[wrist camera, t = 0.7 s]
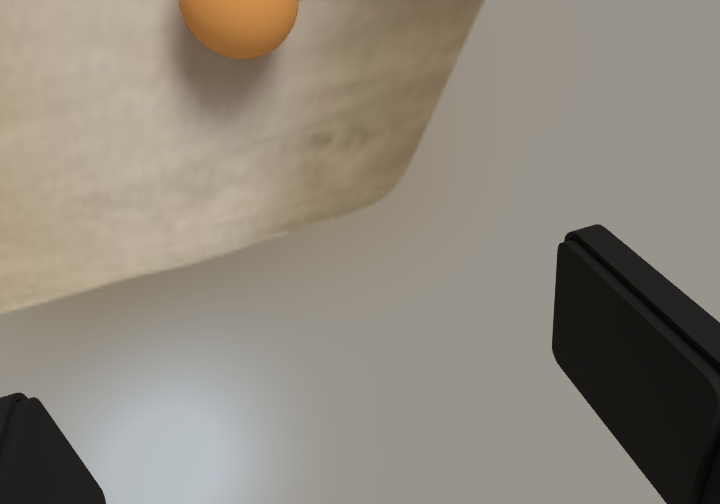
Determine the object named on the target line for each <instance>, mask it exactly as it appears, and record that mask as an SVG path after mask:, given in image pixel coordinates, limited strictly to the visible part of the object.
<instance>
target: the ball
mask: <svg viewBox="0 0 720 504" xmlns="http://www.w3.org/2000/svg"><path fill="white" fill-rule="evenodd" d="M179 4H180V8H181V12H182V14H183V17H184V19H185V21H186V23H187V25H188V27H189V28H190V30H191V31H192V33H193V34H194V35H195V36H196V37H197V39H198V40H199V41H201V42H202V43H203V44H204V45H205V46H207V47H208V48H210V49H211V50H212V51H214V52H216V53H218V54H221V55H223V56H226V57H230V58H235V59H251V58H256V57H260V56H263V55H265V54H267V53H269V52H271V51H272V50H274V49H275V48H277V47H278V46H279V45H280V44H281V43H282V42H283V41H284V40H285V39H286V37H287V36H288V35H289V33H290V31H291V29H292V28H293V25H294V23H295V20H296V16H297V12H298V4H299V0H179Z"/></svg>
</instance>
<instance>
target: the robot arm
mask: <svg viewBox="0 0 720 504" xmlns="http://www.w3.org/2000/svg"><path fill="white" fill-rule="evenodd" d="M552 350H553V354H554V357H555V359H556V361H557V363H558V364H559V366H560V367H561V369H562V370H563V371H564V372H565V374H566V375H567V376H568V378H569V379H570V380H571V381H572V383H573V384H574V385H575V387H576V388H577V389H578V390H579V392H580V393H581V394H582V395H583V397H584V398H585V399H586V400H587V402H588V403H589V404H590V406H591V407H592V408H593V410H594V411H595V412H596V413H597V415H598V416H599V417H600V418H601V420H602V421H603V422H604V424H605V425H606V426H607V427H608V429H609V430H610V431H611V432H612V434H613V435H614V437H615V438H616V439H617V440H618V442H619V443H620V444H621V445H622V447H623V448H624V449H625V451H626V452H627V453H628V454H629V456H630V457H631V458H632V459H633V461H634V462H635V463H636V465H637V466H638V467H639V469H640V470H641V471H642V472H643V474H644V475H645V476H646V478H647V479H648V480H649V481H650V483H651V484H652V485H653V486H654V488H655V489H656V490H657V492H658V493H659V494H660V495H661V497H662V498H663V499H664V501H665V502H666V503H667V504H720V323H719V322H718V321H717V320H716V319H715V318H713V317H712V316H711V315H710V314H708V313H707V312H706V311H705V310H704V309H703V308H701V307H700V306H699V305H698V304H696V303H695V302H694V301H693V300H691V299H690V298H689V297H688V296H687V295H686V294H684V293H683V292H682V291H681V290H680V289H678V288H677V287H676V286H674V285H673V284H672V283H671V282H670V281H669V280H667V279H666V278H665V277H664V276H663V275H662V274H660V273H659V272H658V271H656V270H655V269H654V268H653V267H652V266H651V265H649V264H648V263H647V262H646V261H645V260H643V259H642V258H641V257H640V256H638V255H637V254H636V253H635V252H634V251H633V250H631V249H630V248H629V247H628V246H627V245H625V244H624V243H623V242H622V241H621V240H619V239H618V238H617V237H616V236H614V235H613V234H612V233H611V232H610V231H608V230H607V229H606V228H605V227H603V226H601V225H597V224H596V225H593V226H589V227H586V228H583V229H579V230H575V231H572V232H569V233H568V234H567V235H566V236H565V241H564V242H563V243H560V244H559V246H558V253H557V269H556V286H555V303H554V320H553V337H552ZM0 504H106V501H105V497H104V494H103V491H102V489H101V488H100V487H99V485H98V483H97V482H96V481H95V480H94V478H93V476H92V475H91V473H90V472H89V471H88V469H87V468H86V466H85V465H84V463H83V462H82V460H81V459H80V458H79V456H78V455H77V454H76V452H75V450H74V449H73V448H72V446H71V445H70V443H69V442H68V440H67V439H66V438H65V436H64V435H63V433H62V432H61V430H60V429H59V427H58V426H57V425H56V423H55V422H54V420H53V419H52V417H51V416H50V415H49V413H48V412H47V410H46V409H45V408H44V406H43V405H42V403H41V402H40V401H39V400H38V399H37V398H35V397H33V398H29V399H28V398H27V397H26V396H25V395H24V394H22V393H15V394H11V395H8V396H4V397H1V398H0Z"/></svg>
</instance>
